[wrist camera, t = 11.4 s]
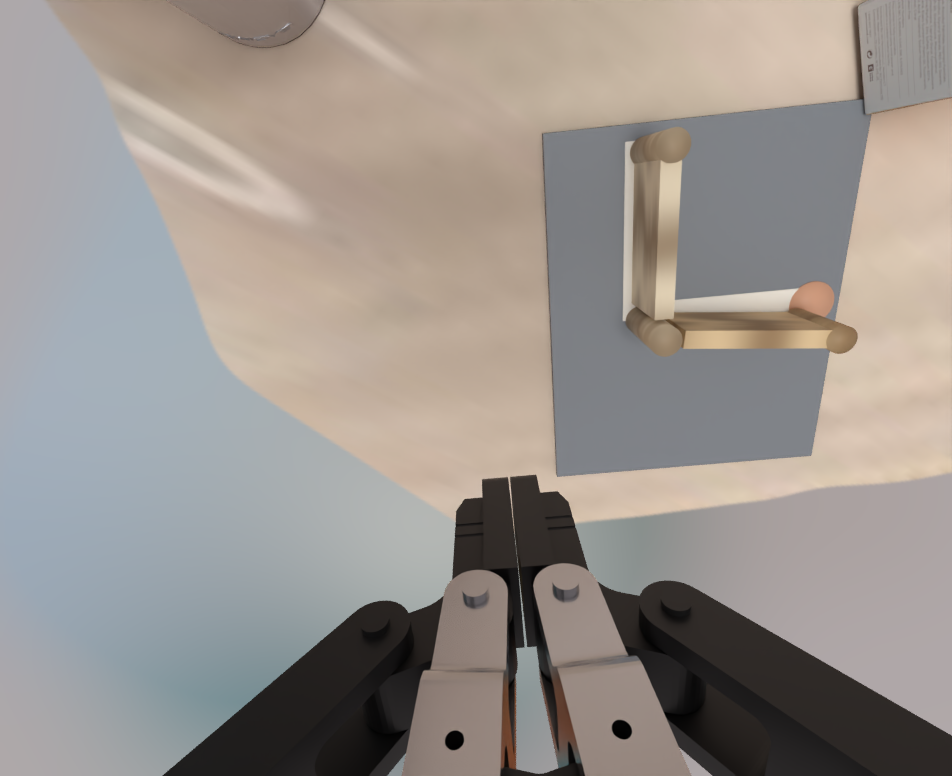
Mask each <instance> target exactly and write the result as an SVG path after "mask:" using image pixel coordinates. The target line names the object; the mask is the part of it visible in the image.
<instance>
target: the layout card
mask: <svg viewBox="0 0 952 776" xmlns="http://www.w3.org/2000/svg"><path fill="white" fill-rule="evenodd" d="M870 119H871V114H869V115H867V114H866V113H865V104H864V99H861V100H851V101H842V102H833V103H823V104H814V105H805V106H795V107H786V108H777V109H768V110H758V111H749V112H740V113H730V114H721V115H712V116H702V117H693V118H684V119H675V120H665V121H656V122H647V123H637V124H628V125H619V126H609V127H600V128H591V129H582V130H572V131H563V132H554V133H544V134H542V136H543V160H544V184H545V208H546V232H547V256H548V279H549V303H550V327H551V351H552V375H553V399H554V423H555V447H556V470H557V477H560V476H572V475H584V474H596V473H608V472H620V471H632V470H644V469H656V468H668V467H680V466H692V465H704V464H717V463H729V462H741V461H753V460H765V459H777V458H789V457H801V456H811V454H812V448H813V442H814V437H815V431H816V425H817V420H818V414H819V408H820V403H821V397H822V391H823V386H824V380H825V374H826V369H827V363H828V357H829V352H830V351H829V350H827V349H825V348H783V349H683V348H682V347H680V349H679V350H678V351H677V352H676V353H675V354H673V355H671V356H667V357H662V356H658V355H656V354H655V353H654V352H653V351H652V350H651V349H650V348H649V347H648V346H646V345H645V344H644V343H643V342H642V341H641V340H640V339H639V338H638V337H637V336H636V335H635V334H634V333H632V332H631V331H630V330H629V329H628V328H627V326H626V323H625V321H626V317H627V314H628V313H629V312H630V311H631V310H632V309H633V308H635V307H636V306H635V305H633V304H632V303H631V302H632V252H633V203H634V163H633V162H632V160H631V158H630V149H631V146H632V144H633V143H634V142H635V140H636V139H638V138H640V137H643V136H646V135H650V134H653V133H656V132H660V131H663V130H666V129H670V128H673V127H681V128H684V129H685V130H686V131H687V132H688V133H689V135H690V137H691V148H690V151H689V153H688V154H687V156H686V157H685V158H684V159H682V172H681V191H680V210H679V229H678V248H677V267H676V285H675V304H674V312H788V311H789V310H791V309H794V308H801V309H804V310H806V311H809V312H812V313H814V314H817V315H820V316H822V317H825V318H828V319H830V320H833V321H835V318H836V312H837V306H838V301H839V295H840V289H841V284H842V278H843V272H844V267H845V261H846V255H847V250H848V244H849V238H850V233H851V227H852V221H853V216H854V210H855V204H856V199H857V193H858V187H859V182H860V176H861V170H862V165H863V159H864V153H865V148H866V142H867V136H868V131H869V125H870Z"/></svg>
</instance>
